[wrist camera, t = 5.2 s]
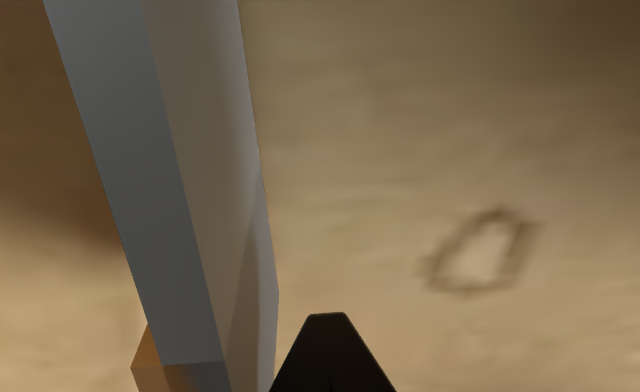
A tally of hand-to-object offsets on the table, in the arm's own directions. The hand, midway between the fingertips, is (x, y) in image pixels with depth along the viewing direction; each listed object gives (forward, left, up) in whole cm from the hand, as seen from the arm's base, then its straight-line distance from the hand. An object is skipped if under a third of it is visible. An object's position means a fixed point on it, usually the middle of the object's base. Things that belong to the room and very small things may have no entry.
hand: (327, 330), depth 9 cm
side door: (+9, -1, -4) cm, 10 cm away
